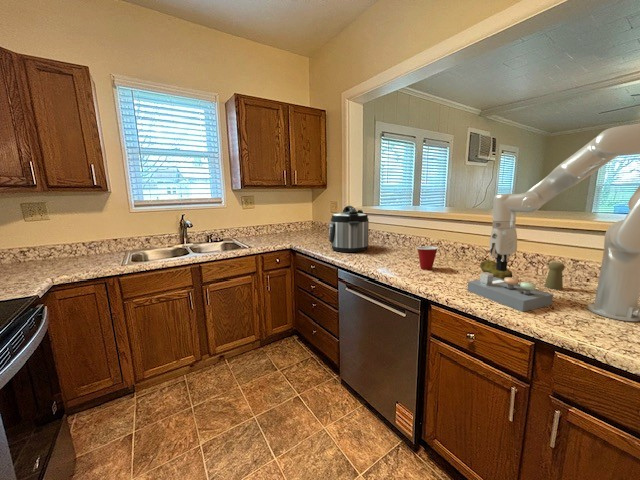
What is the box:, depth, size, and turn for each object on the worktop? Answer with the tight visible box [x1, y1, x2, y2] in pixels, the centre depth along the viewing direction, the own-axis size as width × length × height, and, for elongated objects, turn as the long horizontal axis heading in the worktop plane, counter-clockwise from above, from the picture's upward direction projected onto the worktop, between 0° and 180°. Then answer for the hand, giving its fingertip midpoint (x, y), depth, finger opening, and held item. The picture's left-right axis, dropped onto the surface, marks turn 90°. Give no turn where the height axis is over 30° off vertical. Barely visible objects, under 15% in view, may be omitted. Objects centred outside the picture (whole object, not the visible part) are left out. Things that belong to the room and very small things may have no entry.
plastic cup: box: [416, 245, 439, 271], centre depth 145 cm, size 11×11×12 cm
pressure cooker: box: [328, 205, 370, 253], centre depth 194 cm, size 30×28×32 cm
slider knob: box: [479, 272, 493, 284], centre depth 108 cm, size 3×3×4 cm
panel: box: [466, 277, 554, 313], centre depth 105 cm, size 22×16×4 cm
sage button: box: [519, 281, 537, 296], centre depth 98 cm, size 4×4×4 cm
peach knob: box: [504, 277, 519, 290], centre depth 103 cm, size 4×4×4 cm
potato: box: [479, 259, 513, 280], centre depth 129 cm, size 8×13×8 cm, turn 26°
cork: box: [544, 261, 566, 291], centre depth 114 cm, size 6×6×11 cm
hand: (501, 270), depth 109 cm, fingers closed
